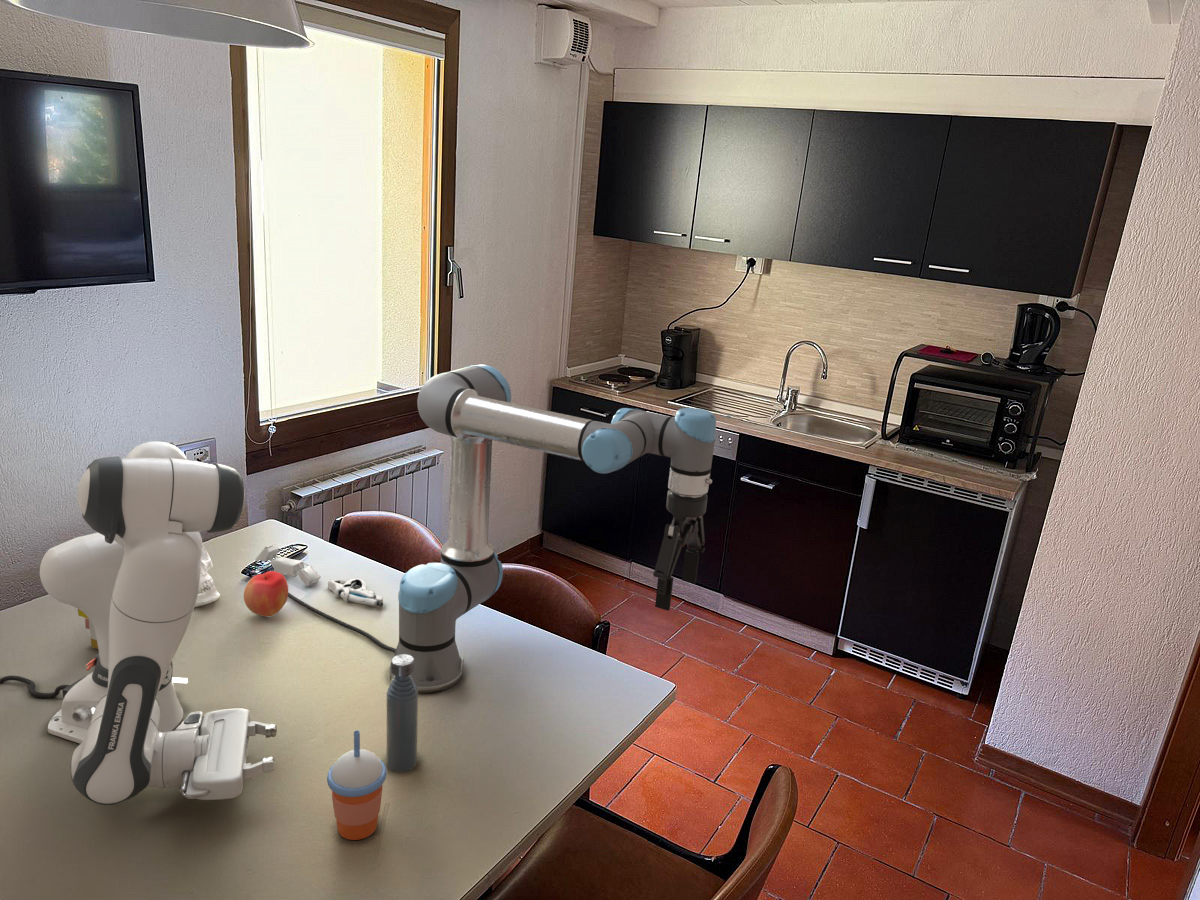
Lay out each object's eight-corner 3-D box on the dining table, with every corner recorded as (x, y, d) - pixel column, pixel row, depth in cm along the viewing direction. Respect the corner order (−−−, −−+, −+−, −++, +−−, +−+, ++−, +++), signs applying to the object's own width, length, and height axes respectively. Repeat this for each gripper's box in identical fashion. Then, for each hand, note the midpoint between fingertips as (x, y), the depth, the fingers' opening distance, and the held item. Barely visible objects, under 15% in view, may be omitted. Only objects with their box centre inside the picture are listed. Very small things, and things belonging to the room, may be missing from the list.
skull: (199, 617, 197) (196, 553, 193) (122, 598, 203) (118, 535, 198) (238, 594, 209) (237, 534, 205) (165, 577, 215) (162, 518, 211)
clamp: (253, 565, 223) (254, 542, 221) (265, 560, 226) (266, 537, 224) (309, 593, 215) (310, 569, 213) (320, 588, 218) (321, 564, 216)
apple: (273, 600, 207) (272, 562, 204) (297, 613, 202) (296, 575, 199) (237, 614, 200) (234, 575, 197) (261, 628, 194) (259, 588, 191)
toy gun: (401, 592, 212) (372, 604, 203) (400, 601, 212) (371, 613, 204) (347, 571, 220) (317, 582, 212) (347, 580, 221) (317, 592, 212)
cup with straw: (370, 852, 133) (370, 755, 128) (317, 840, 135) (314, 743, 130) (395, 813, 142) (396, 720, 137) (345, 802, 144) (343, 710, 138)
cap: (391, 665, 150) (391, 654, 150) (414, 664, 151) (414, 653, 151) (390, 677, 147) (390, 666, 146) (413, 676, 148) (413, 665, 147)
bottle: (387, 753, 157) (387, 653, 150) (417, 752, 158) (418, 653, 152) (385, 772, 152) (385, 670, 145) (416, 771, 153) (418, 669, 146)
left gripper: (175, 781, 131) (271, 769, 136) (193, 706, 150) (277, 697, 154) (178, 815, 133) (273, 802, 138) (195, 736, 152) (278, 727, 156)
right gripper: (681, 516, 147) (669, 626, 153) (728, 478, 168) (716, 576, 174) (642, 506, 150) (631, 614, 156) (693, 470, 171) (682, 566, 178)
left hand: (275, 746), depth 146 cm, fingers open, 8 cm apart
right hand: (676, 594), depth 165 cm, fingers open, 13 cm apart
